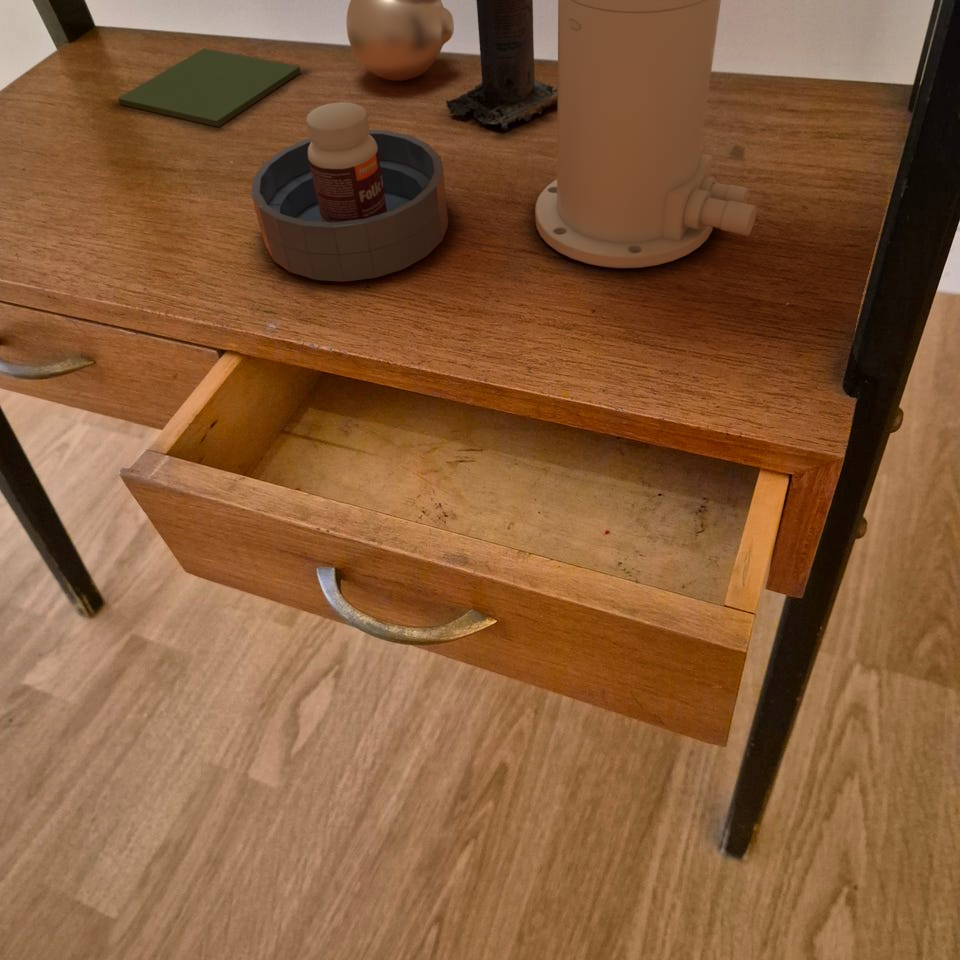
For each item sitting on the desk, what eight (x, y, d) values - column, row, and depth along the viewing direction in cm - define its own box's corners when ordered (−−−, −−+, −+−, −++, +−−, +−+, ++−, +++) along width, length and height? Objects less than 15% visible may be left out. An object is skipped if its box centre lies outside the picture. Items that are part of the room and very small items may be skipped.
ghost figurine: (436, 102, 77) (424, -22, 70) (339, 93, 80) (318, -28, 72) (469, 60, 83) (461, -59, 76) (378, 52, 85) (362, -63, 78)
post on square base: (511, 139, 72) (506, -21, 63) (442, 115, 76) (428, -39, 67) (577, 98, 76) (580, -57, 67) (508, 77, 80) (503, -72, 71)
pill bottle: (379, 248, 62) (360, 133, 55) (315, 244, 62) (289, 130, 56) (397, 212, 65) (380, 99, 58) (335, 209, 66) (313, 97, 59)
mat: (301, 72, 83) (299, 66, 83) (218, 127, 77) (216, 120, 76) (205, 54, 88) (204, 48, 87) (119, 104, 81) (117, 98, 80)
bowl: (480, 206, 65) (476, 149, 62) (383, 304, 58) (373, 244, 54) (336, 172, 70) (325, 117, 67) (229, 257, 62) (211, 200, 59)
